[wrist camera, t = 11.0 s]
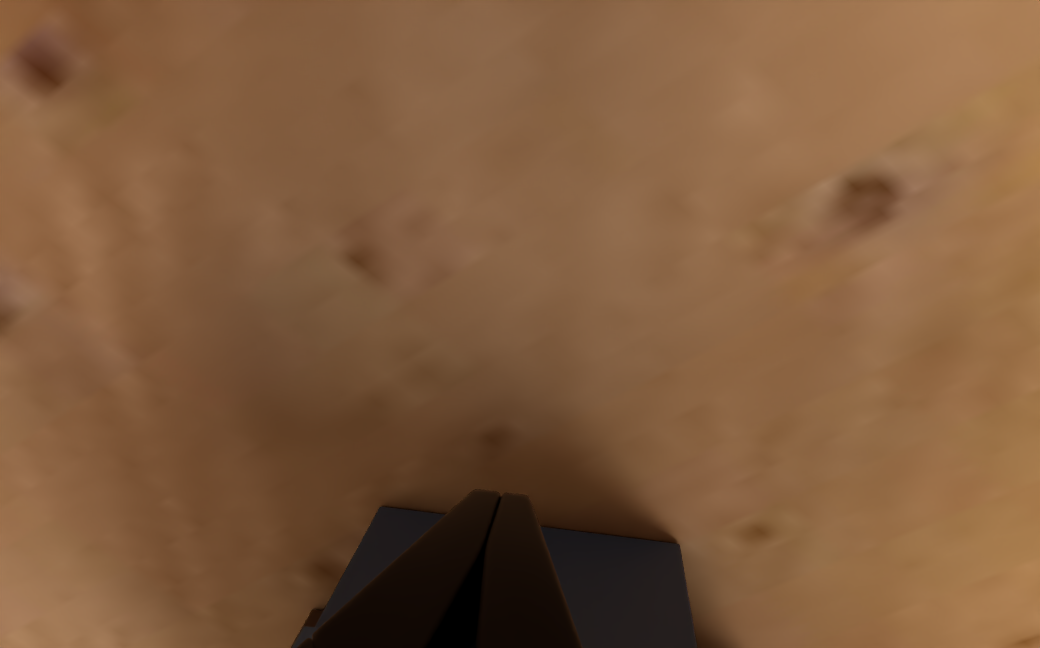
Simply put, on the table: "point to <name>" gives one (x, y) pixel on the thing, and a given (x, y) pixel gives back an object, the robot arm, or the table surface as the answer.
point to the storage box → (582, 575)
